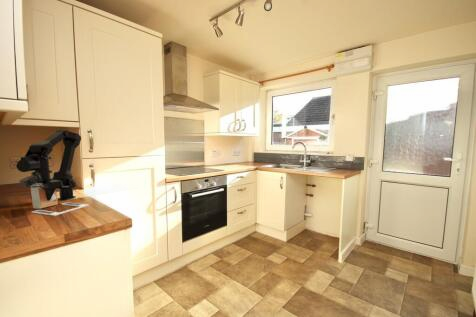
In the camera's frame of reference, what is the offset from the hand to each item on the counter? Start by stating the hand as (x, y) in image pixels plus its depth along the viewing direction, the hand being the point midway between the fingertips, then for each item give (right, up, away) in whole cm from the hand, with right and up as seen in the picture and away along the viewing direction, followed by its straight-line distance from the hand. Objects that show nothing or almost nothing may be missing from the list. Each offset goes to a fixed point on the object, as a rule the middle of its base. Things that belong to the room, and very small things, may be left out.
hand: (44, 199), depth 110 cm
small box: (0, -4, 0) cm, 4 cm away
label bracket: (+10, -4, -3) cm, 11 cm away
